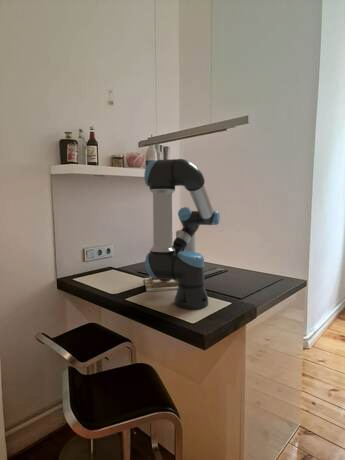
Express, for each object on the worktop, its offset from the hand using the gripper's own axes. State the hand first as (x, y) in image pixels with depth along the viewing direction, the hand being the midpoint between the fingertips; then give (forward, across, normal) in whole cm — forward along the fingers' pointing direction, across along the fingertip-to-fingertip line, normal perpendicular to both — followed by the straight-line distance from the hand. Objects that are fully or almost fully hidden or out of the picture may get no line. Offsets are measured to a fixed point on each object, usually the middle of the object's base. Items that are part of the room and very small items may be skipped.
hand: (160, 273), depth 167 cm
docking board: (+3, 0, -7) cm, 8 cm away
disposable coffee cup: (+1, 0, -6) cm, 6 cm away
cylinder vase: (-21, +19, -31) cm, 42 cm away
